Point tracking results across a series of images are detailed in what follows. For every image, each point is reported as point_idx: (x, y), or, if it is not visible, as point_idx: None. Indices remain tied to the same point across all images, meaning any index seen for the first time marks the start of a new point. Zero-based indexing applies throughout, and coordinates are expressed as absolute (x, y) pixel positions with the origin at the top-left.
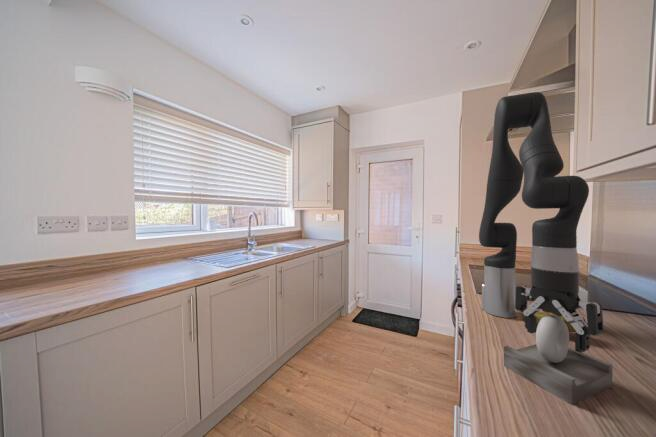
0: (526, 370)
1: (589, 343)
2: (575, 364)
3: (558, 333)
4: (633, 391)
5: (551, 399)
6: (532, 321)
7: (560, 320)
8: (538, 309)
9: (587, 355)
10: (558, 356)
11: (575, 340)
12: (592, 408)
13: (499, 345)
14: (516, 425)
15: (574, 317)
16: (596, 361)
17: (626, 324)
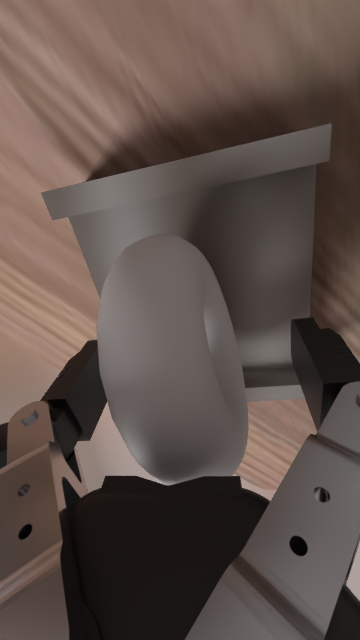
0: None
1: (350, 353)
2: (231, 239)
3: (239, 420)
4: (349, 66)
5: None
6: (91, 405)
7: (211, 434)
8: (75, 484)
9: (234, 157)
10: (239, 355)
11: (306, 398)
12: (322, 322)
13: (32, 286)
14: (289, 463)
15: (355, 551)
16: (279, 171)
17: None
